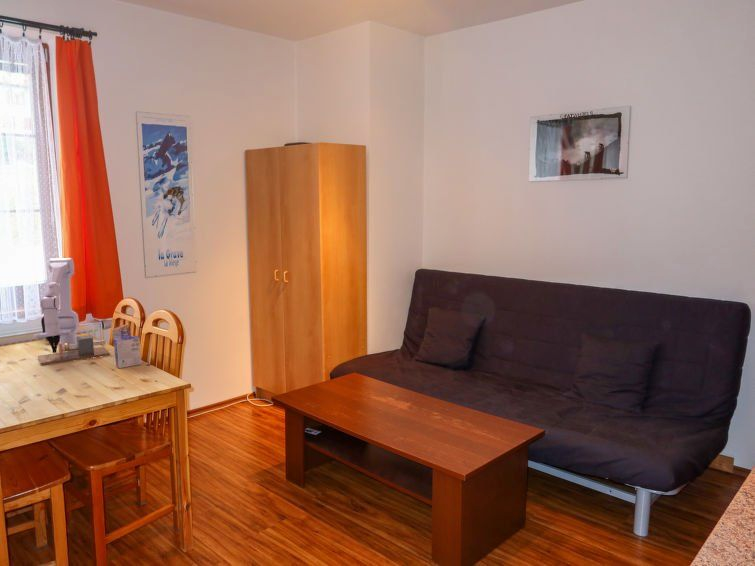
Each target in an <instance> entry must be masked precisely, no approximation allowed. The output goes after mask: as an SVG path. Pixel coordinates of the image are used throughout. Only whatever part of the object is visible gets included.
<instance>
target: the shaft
mask: <svg viewBox="0 0 755 566" xmlns="http://www.w3.org/2000/svg"><path fill="white" fill-rule="evenodd" d="M103 345H106V341H105V339H102V340H93V346H94V347H96V346H103ZM75 348H79V347H78V343H77V344H70V345H69V343H65V344H64V345H62V343H61V341H60V342H59V343H58V346H57V349H58V353H59V354H60V355H63V352H69V351H70V350H76V349H75ZM69 349H70V350H69Z"/></svg>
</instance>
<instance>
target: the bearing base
mask: <svg viewBox="0 0 755 566" xmlns="http://www.w3.org/2000/svg"><path fill="white" fill-rule="evenodd" d="M93 338H94V337H93V336H92V335H91V334H86V335H78V336H76V339H77V343H78V347H79V348H77V349H76V350H71V351H70V350H69V351H63V355H60V354H59V352H57V353H49V354H42V355H37V359H38V362H39V365H40V366H46V365H53V364H55V365H56V364H62V363H66V362H73V361H74V360H75V361H82V360H88V359H87V358H89V359H94V358H93V357H96V358H101V357H100V356H103V357H108V355H109V356H110V355H111V354H110V351H109V350H107V348H106V347H105V346H100V347H99V346H98V347H95V346H93V341H94V339H93ZM81 359H82V360H81ZM75 361H74V362H75Z"/></svg>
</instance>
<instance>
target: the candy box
mask: <svg viewBox="0 0 755 566" xmlns="http://www.w3.org/2000/svg"><path fill="white" fill-rule="evenodd" d="M130 326H131V325H130V324H122V325H119V326H118V327H115V328H112V329H111V330H112V342H113V343H114V340H113V339H119V338H121V333H124V332H129V333H130V336H131V327H130ZM126 335H128V334H123V336H126ZM113 351H114V353H115V350H114V349H113ZM114 361H115V363H116V360H115V359H114Z"/></svg>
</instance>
